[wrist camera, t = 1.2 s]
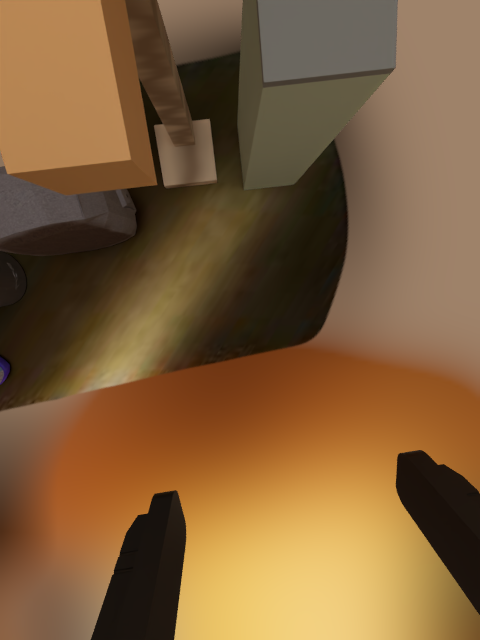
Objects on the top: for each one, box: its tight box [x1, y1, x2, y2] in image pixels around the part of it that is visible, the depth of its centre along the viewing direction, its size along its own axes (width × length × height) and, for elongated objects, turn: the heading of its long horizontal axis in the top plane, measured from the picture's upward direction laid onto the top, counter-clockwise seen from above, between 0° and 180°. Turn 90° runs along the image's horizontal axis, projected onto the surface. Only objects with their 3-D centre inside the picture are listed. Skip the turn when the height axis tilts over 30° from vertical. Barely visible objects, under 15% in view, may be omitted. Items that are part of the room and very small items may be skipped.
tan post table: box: [125, 0, 217, 189], centre depth 24 cm, size 8×8×32 cm
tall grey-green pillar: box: [237, 0, 398, 190], centre depth 27 cm, size 8×9×26 cm
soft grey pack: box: [0, 166, 137, 256], centre depth 31 cm, size 15×8×20 cm, turn 106°
